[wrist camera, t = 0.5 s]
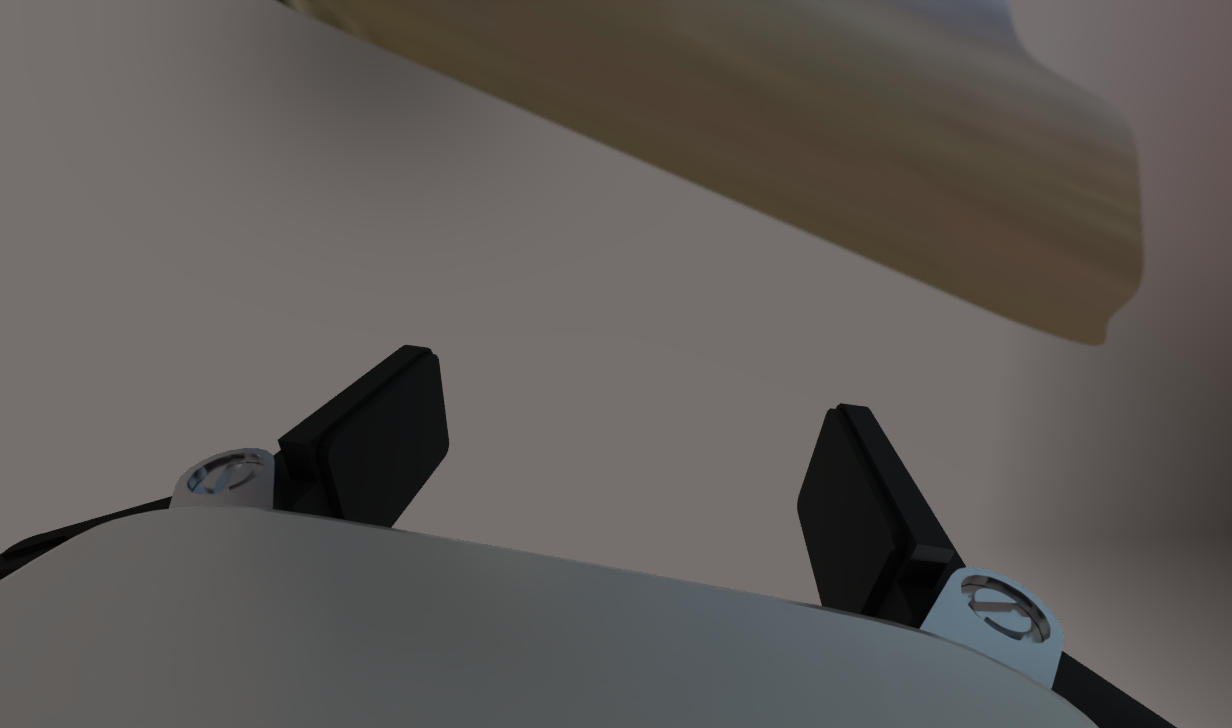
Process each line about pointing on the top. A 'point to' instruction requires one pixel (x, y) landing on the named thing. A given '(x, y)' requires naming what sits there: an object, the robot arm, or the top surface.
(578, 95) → the top surface
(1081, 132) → the top surface
